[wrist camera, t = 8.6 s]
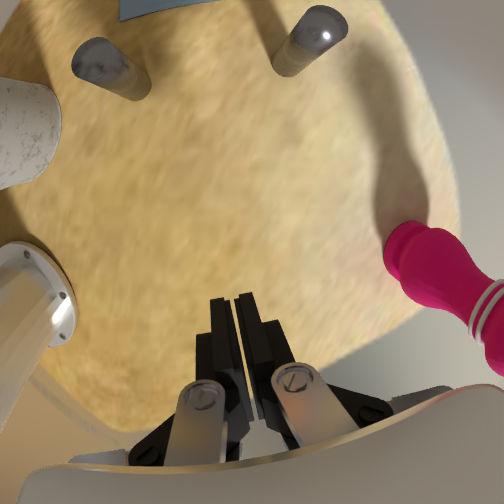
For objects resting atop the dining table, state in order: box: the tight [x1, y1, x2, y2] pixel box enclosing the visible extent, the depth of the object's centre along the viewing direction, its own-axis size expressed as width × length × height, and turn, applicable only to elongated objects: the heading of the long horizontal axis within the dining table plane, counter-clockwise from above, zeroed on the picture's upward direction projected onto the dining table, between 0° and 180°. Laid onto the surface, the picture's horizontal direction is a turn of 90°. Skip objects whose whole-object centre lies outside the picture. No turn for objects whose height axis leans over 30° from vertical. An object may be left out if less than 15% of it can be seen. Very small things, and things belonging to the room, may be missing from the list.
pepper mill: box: [384, 221, 504, 377], centre depth 17 cm, size 7×7×20 cm
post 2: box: [272, 5, 348, 77], centre depth 14 cm, size 2×2×9 cm
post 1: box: [71, 37, 152, 101], centre depth 14 cm, size 2×2×9 cm
